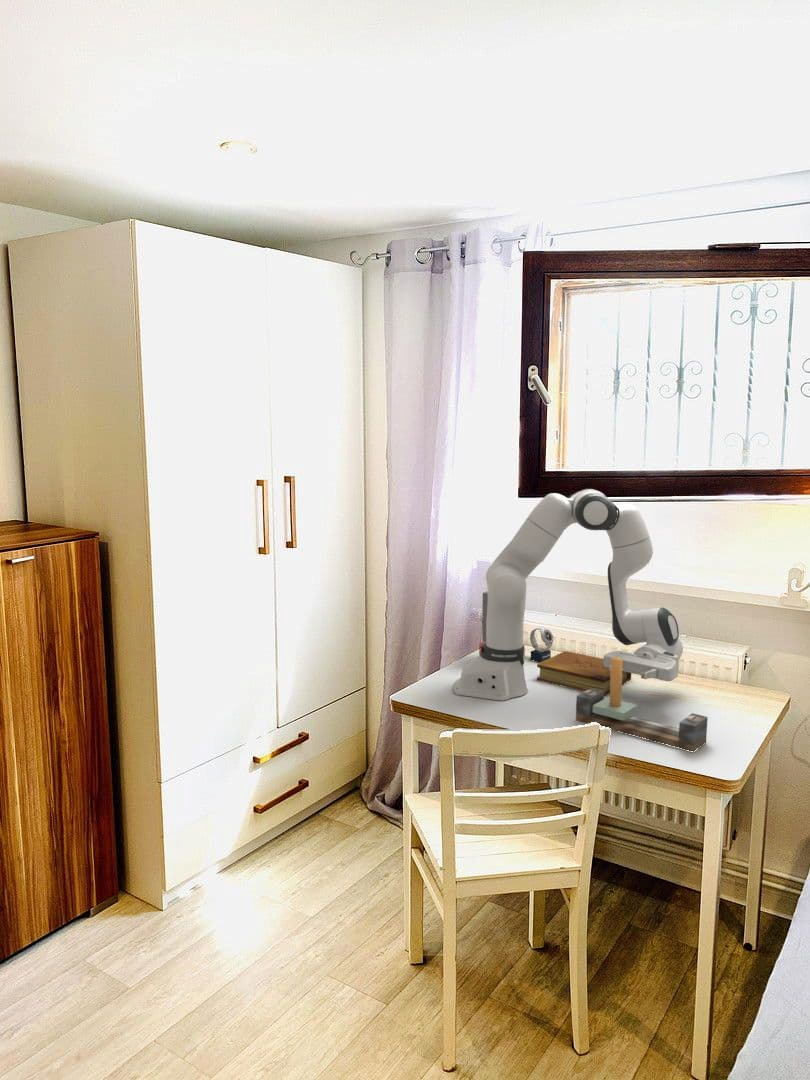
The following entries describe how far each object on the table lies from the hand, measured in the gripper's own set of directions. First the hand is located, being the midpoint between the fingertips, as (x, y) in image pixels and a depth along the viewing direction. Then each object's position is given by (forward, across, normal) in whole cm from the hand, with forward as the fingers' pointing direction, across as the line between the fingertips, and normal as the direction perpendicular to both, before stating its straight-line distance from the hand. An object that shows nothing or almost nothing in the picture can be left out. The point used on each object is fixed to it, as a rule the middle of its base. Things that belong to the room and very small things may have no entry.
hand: (627, 672), depth 226 cm
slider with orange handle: (+7, 0, +9) cm, 12 cm away
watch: (-29, -45, +13) cm, 55 cm away
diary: (-20, -24, +14) cm, 34 cm away
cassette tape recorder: (-17, -53, +13) cm, 58 cm away
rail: (+7, +7, +13) cm, 16 cm away
